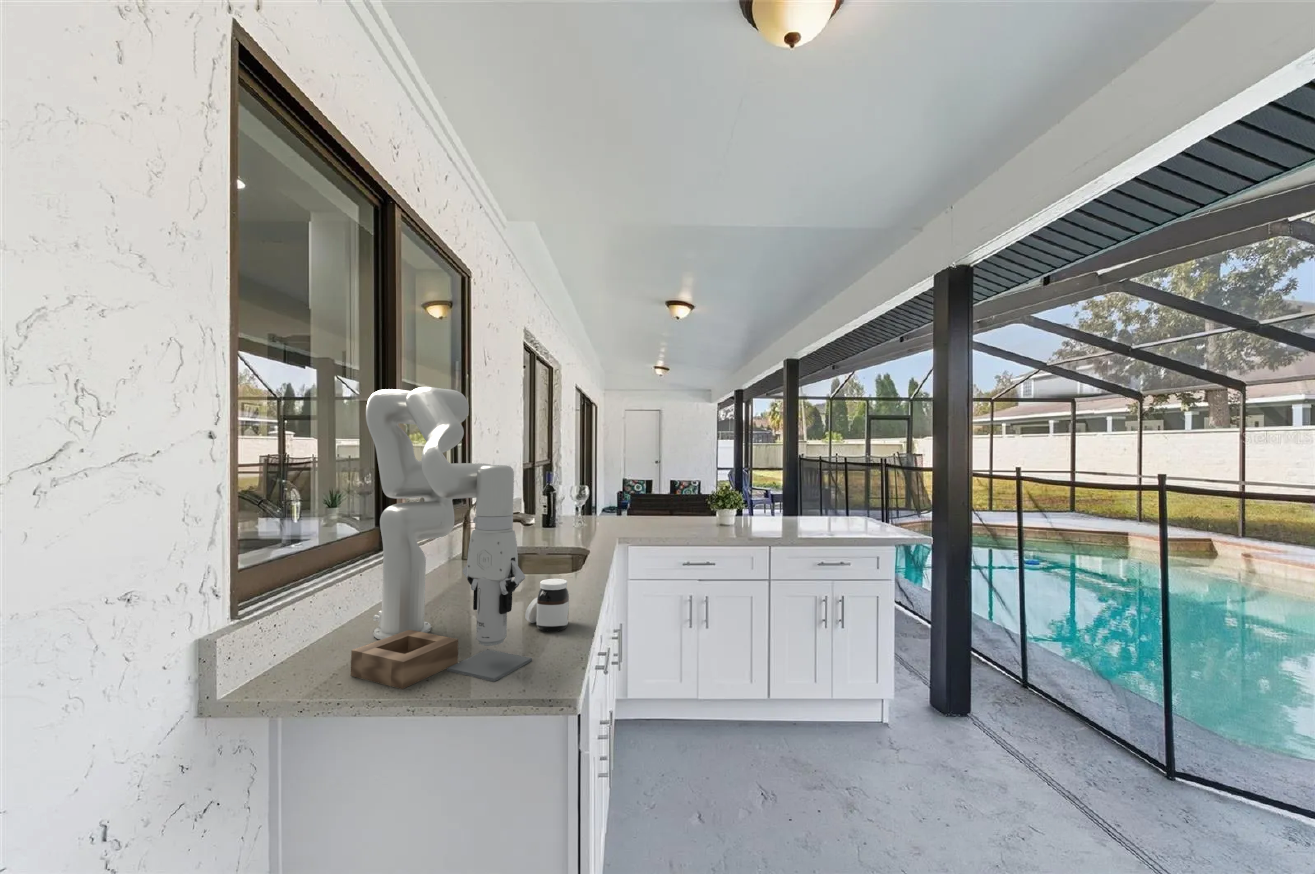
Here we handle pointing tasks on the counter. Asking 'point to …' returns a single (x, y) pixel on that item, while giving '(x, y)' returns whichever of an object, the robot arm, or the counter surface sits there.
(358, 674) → the walnut frame
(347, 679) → the counter surface
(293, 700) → the counter surface
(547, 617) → the spread jar
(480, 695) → the counter surface
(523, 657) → the rubber mat
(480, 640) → the energy drink can
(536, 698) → the counter surface
